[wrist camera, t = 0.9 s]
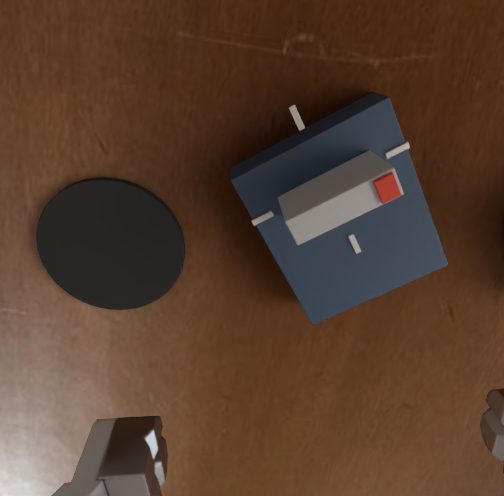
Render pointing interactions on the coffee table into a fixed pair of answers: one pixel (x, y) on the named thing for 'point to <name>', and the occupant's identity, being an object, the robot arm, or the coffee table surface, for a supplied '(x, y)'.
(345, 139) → the valve panel
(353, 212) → the tap handle
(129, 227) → the coaster
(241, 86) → the coffee table surface
